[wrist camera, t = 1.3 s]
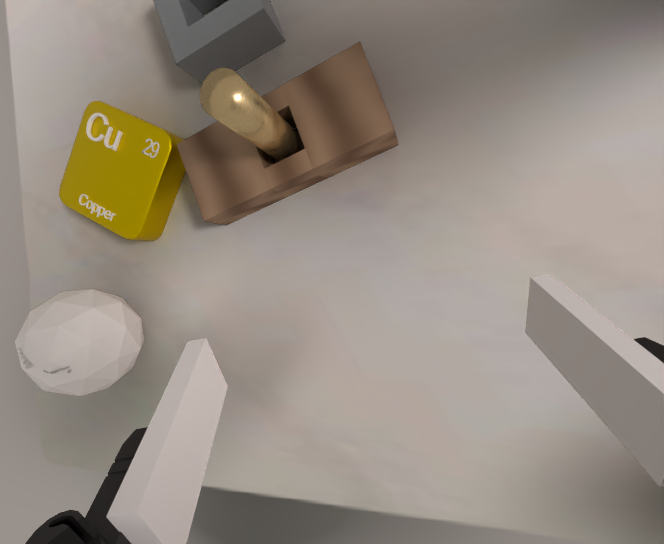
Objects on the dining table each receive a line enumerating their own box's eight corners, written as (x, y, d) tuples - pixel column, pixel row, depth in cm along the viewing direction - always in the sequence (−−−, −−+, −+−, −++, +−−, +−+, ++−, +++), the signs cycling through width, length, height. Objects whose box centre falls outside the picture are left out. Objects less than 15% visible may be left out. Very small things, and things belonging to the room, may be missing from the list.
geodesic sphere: (164, 308, 43) (14, 302, 35) (147, 414, 45) (-2, 433, 36) (143, 282, 55) (25, 273, 46) (129, 368, 56) (13, 374, 47)
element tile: (82, 204, 54) (50, 199, 49) (115, 108, 52) (84, 93, 47) (159, 246, 51) (131, 244, 46) (197, 145, 48) (172, 133, 44)
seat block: (252, -45, 45) (226, -90, 39) (285, 40, 44) (263, 7, 39) (177, 7, 48) (143, -28, 42) (206, 87, 47) (175, 63, 42)
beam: (367, 66, 42) (359, 41, 37) (398, 144, 41) (394, 129, 36) (202, 155, 48) (176, 144, 43) (226, 225, 47) (203, 221, 42)
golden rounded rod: (301, 128, 44) (233, 58, 29) (312, 158, 44) (250, 103, 28) (273, 143, 45) (193, 82, 30) (284, 172, 45) (209, 126, 29)
